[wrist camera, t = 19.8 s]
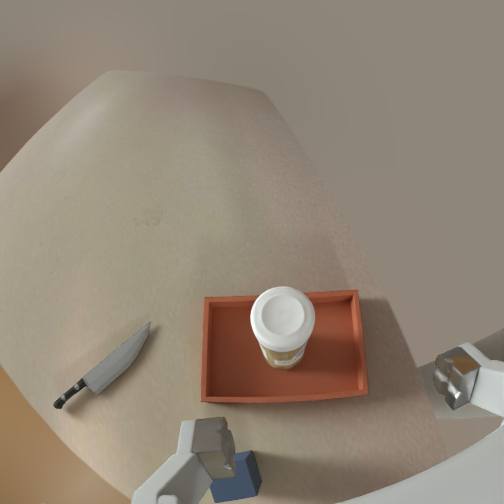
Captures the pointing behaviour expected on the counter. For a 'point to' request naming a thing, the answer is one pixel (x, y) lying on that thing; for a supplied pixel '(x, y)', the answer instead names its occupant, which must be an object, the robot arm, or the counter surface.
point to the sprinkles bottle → (283, 325)
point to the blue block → (238, 480)
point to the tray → (274, 380)
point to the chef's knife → (109, 367)
